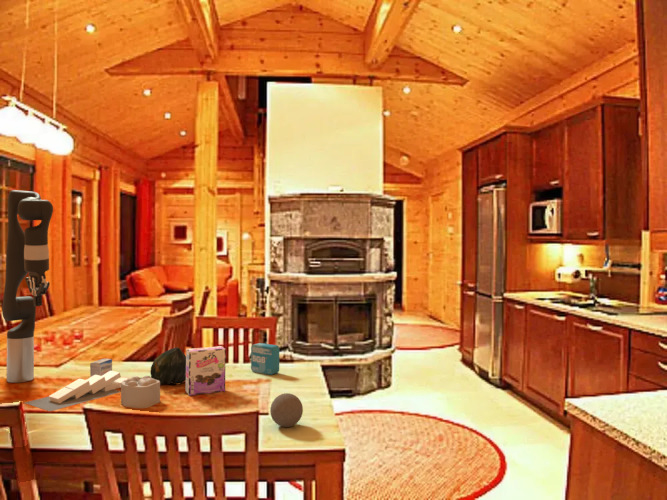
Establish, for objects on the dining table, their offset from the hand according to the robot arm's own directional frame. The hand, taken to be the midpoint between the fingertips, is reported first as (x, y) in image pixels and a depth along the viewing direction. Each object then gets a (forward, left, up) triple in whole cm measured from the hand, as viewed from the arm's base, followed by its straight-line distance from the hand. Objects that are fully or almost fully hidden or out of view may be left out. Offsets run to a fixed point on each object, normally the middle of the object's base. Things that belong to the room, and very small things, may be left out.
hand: (37, 305), depth 186 cm
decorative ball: (+89, +28, -33) cm, 99 cm away
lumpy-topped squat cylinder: (+32, +17, -33) cm, 50 cm away
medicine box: (-1, +26, -33) cm, 42 cm away
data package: (+42, +75, -33) cm, 92 cm away
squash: (+22, +41, -33) cm, 57 cm away
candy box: (+42, +40, -33) cm, 67 cm away
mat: (+10, +8, -33) cm, 35 cm away
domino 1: (+10, 0, -32) cm, 33 cm away
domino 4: (+10, +18, -32) cm, 38 cm away
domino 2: (+10, +7, -32) cm, 34 cm away
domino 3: (+10, +13, -32) cm, 35 cm away
